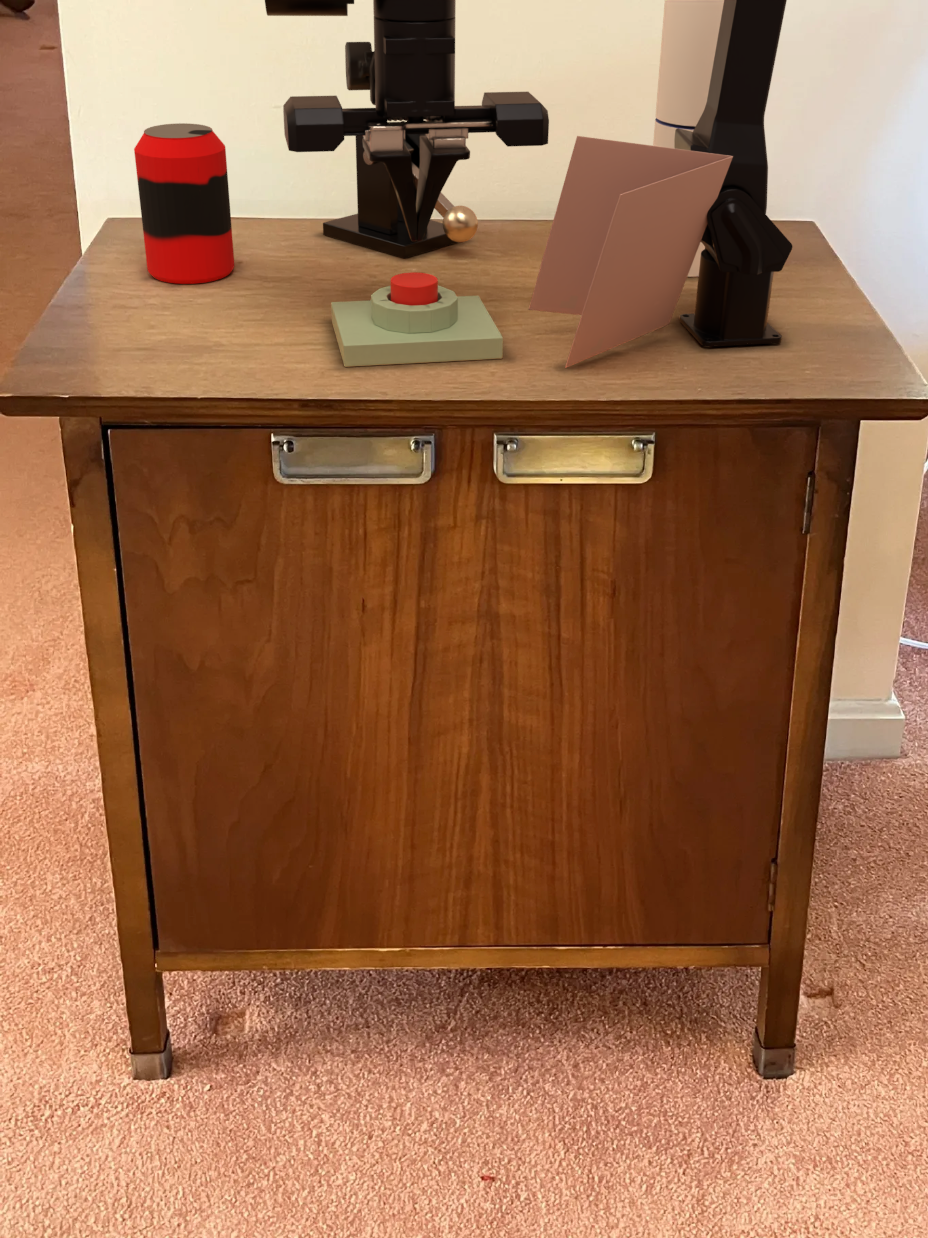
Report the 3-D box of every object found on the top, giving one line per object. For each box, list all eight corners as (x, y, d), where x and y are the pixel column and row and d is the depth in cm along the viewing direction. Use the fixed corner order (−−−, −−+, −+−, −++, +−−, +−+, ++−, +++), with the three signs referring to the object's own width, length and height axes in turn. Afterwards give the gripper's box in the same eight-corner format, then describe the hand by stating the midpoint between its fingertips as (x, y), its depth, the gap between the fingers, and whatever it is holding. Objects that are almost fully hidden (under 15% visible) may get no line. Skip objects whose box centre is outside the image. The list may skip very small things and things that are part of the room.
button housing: (502, 358, 103) (503, 314, 101) (344, 367, 101) (342, 321, 100) (478, 315, 112) (479, 273, 110) (331, 322, 110) (330, 279, 108)
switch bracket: (463, 241, 130) (465, 134, 125) (404, 258, 125) (403, 148, 120) (382, 219, 136) (380, 116, 131) (322, 235, 131) (318, 128, 126)
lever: (476, 245, 126) (490, 218, 123) (452, 252, 124) (466, 225, 121) (388, 153, 129) (400, 125, 126) (364, 158, 127) (375, 130, 124)
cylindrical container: (631, 269, 123) (655, -38, 110) (660, 248, 128) (685, -46, 115) (707, 281, 120) (740, -32, 107) (733, 260, 125) (767, -41, 112)
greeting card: (667, 316, 108) (730, 149, 97) (683, 379, 104) (752, 211, 92) (527, 302, 106) (575, 129, 95) (538, 365, 101) (590, 191, 90)
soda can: (215, 288, 117) (202, 143, 111) (133, 281, 118) (116, 137, 112) (247, 262, 123) (237, 124, 117) (169, 256, 125) (155, 118, 118)
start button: (441, 308, 104) (441, 285, 103) (394, 310, 103) (393, 287, 102) (433, 293, 107) (433, 271, 106) (388, 295, 106) (387, 273, 105)
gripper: (521, -1, 103) (515, 207, 112) (273, 2, 101) (285, 215, 109) (555, 21, 94) (545, 247, 102) (282, 25, 91) (294, 256, 99)
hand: (416, 239), depth 103 cm, fingers closed
